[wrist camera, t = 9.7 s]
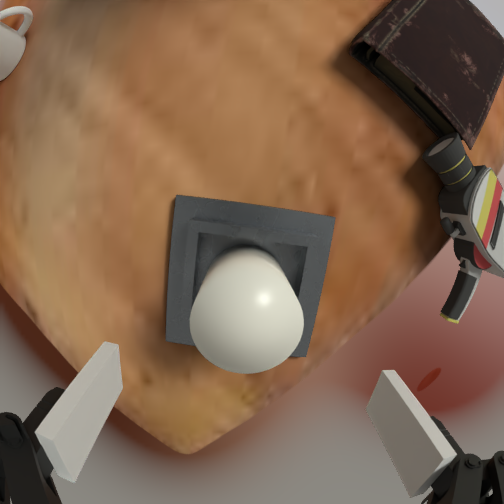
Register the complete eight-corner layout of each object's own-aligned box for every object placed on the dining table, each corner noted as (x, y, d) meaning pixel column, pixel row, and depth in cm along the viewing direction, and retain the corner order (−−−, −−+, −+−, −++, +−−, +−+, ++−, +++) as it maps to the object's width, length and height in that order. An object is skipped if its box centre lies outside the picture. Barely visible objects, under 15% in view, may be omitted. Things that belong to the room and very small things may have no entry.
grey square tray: (178, 194, 29) (170, 195, 25) (332, 216, 30) (343, 219, 26) (167, 337, 32) (160, 352, 28) (304, 352, 33) (310, 368, 29)
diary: (343, 52, 26) (357, 32, 21) (415, -21, 23) (429, -35, 18) (452, 157, 29) (477, 154, 24) (497, 61, 25) (515, 53, 20)
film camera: (362, 209, 30) (438, 134, 29) (438, 321, 33) (499, 248, 31) (389, 212, 24) (471, 124, 22) (466, 342, 26) (530, 257, 24)
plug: (210, 239, 29) (194, 264, 19) (290, 250, 29) (314, 279, 19) (202, 314, 30) (186, 366, 20) (277, 323, 31) (291, 377, 21)
